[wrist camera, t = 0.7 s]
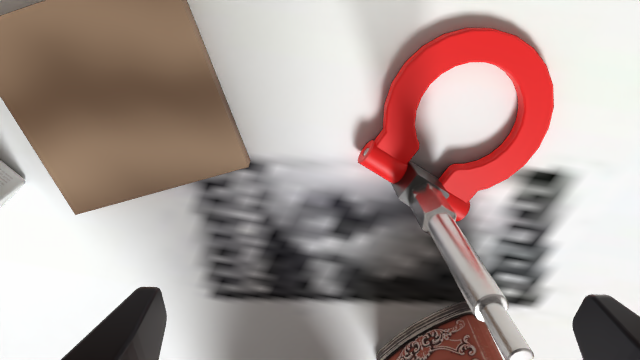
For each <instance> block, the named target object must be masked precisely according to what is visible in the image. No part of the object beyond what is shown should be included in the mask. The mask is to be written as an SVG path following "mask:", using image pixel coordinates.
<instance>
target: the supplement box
mask: <svg viewBox="0 0 640 360" xmlns="http://www.w3.org/2000/svg"><path fill="white" fill-rule="evenodd" d="M24 184H25V180H24V179H23V178H22V177H21V176H20V175H19V174H17V173H16V172H15V171H13V170H12V169H11V168H10V167H8V166H7V165H6V164H5V163H3V162H2V161H1V160H0V209H1V207H2V206H3V205H4V204H5V203H6V202H7V201H8V200H9V199H10V198H11V197H12V196H13V195H14V194H15V193H16V192H17V191H18V190H19V189H20V188H21V187H22V186H23V185H24Z"/></svg>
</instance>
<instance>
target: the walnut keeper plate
mask: <svg viewBox="0 0 640 360" xmlns="http://www.w3.org/2000/svg"><path fill="white" fill-rule="evenodd" d="M0 97H1V98H2V100H3V101H4V103H5V105H6V106H7V108H8V109H9V111H10V112H11V114H12V116H13V117H14V119H15V120H16V122H17V123H18V125H19V127H20V128H21V130H22V131H23V133H24V135H25V136H26V138H27V139H28V141H29V142H30V144H31V146H32V147H33V149H34V150H35V152H36V153H37V155H38V157H39V158H40V160H41V161H42V163H43V165H44V166H45V168H46V169H47V171H48V172H49V174H50V176H51V177H52V179H53V180H54V182H55V183H56V185H57V187H58V188H59V190H60V191H61V193H62V195H63V196H64V198H65V199H66V201H67V202H68V204H69V206H70V207H71V209H72V210H73V212H74V213H75V215H77V214H80V213H84V212H88V211H91V210H95V209H98V208H102V207H106V206H109V205H113V204H116V203H120V202H124V201H127V200H131V199H134V198H138V197H142V196H145V195H149V194H152V193H156V192H160V191H163V190H167V189H171V188H174V187H178V186H181V185H185V184H189V183H192V182H196V181H199V180H203V179H207V178H210V177H214V176H217V175H221V174H225V173H228V172H232V171H235V170H239V169H243V168H246V167H249V163H250V158H249V156H248V153H247V151H246V148H245V146H244V143H243V141H242V138H241V136H240V133H239V131H238V128H237V126H236V123H235V121H234V118H233V116H232V113H231V111H230V108H229V106H228V103H227V101H226V98H225V96H224V93H223V91H222V88H221V86H220V83H219V81H218V78H217V76H216V73H215V70H214V68H213V65H212V63H211V60H210V58H209V55H208V53H207V50H206V48H205V45H204V43H203V40H202V38H201V35H200V33H199V30H198V28H197V25H196V23H195V20H194V18H193V15H192V13H191V10H190V8H189V5H188V3H187V0H45V1H42V2H39V3H36V4H33V5H30V6H27V7H24V8H21V9H18V10H15V11H12V12H9V13H7V14H4V15H1V16H0Z"/></svg>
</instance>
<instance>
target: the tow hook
mask: <svg viewBox="0 0 640 360" xmlns="http://www.w3.org/2000/svg"><path fill="white" fill-rule="evenodd" d="M469 62H486V63H490V64H493V65H496V66H497V67H499V68H500V69H502V70H503V71H505V72H506V74H507V75H508V76H509V78H510V79H511V80H512V81H513V84H514V86H515V89H516V92H517V96H518V111H517V116H516V121H515V123H514V125H513V127H512V130H511V132H510V134H509V135H508V136H507V138H506V139H505V140H504V141H503V143H502V144H501V145H500V146H499V147H498V148H496V149H495V150H494V151H493V152H492V153H490V154H489V155H487V156H485V157H483V158H481V159H479V160H477V161H473V162H469V163H465V164H452V165H450V166H449V167H448V168H447V169H446V171H445V172H444V173H443V174H442V175H441V177H440V178H439V179H438V178H437V177H435V176H434V175H432V174H430V173H429V172H427V171H426V170H424V169H422V168H421V167H419V166H418V165H416V164H415V163H413V162H411V161H410V160H411V159H412V157H413V156H414V155H415V153H416V152H417V151H418V150H419V144H420V143H419V141H418V139H417V135H416V129H415V118H416V110H417V108H418V105H419V102H420V100H421V97H422V96H423V94H424V93H425V91H426V90H427V88H428V87H429V85H430V84H431V83H432V82H433V81H434V80H435V79H437V78H438V77H439V76H440V75H441V74H442V73H444V72H446V71H448V70H449V69H451V68H453V67H455V66H458V65H462V64H465V63H469ZM553 108H554V99H553V84H552V81H551V78H550V75H549V72H548V69H547V66H546V64H545V63H544V61H543V60H542V59H541V57H540V56H539V55H538V53H537V52H536V50H535V49H534V48H533V47H531V46H530V45H529V44H527V43H526V42H524V41H523V40H521V39H520V38H519V37H517V36H515V35H512V34H509V33H505V32H502V31H499V30H496V29H492V28H464V29H460V30H457V31H453V32H449V33H446V34H443V35H441V36H439V37H437V38H436V39H434V40H432V41H430V42H429V43H427V44H425V45H423V46H422V47H421V48H420V49H419V50H418V51H417V52H416V53H414V54H413V55H412V56H411V57H410V58H409V59H408V60H407V61H406V62H405V63H404V64H403V66H402V68H401V69H400V71H399V72H398V74H397V75H396V77H395V78H394V80H393V82H392V83H391V86H390V89H389V92H388V95H387V98H386V101H385V104H384V117H383V129H382V131H381V132H380V133H379V135H378V136H377V137H376V139H375V140H371V141H369V142H368V143H367V144H366V145H365V146H364V148H363V149H362V151H361V153H360V155H359V158H358V163H360V164H361V165H363V166H365V167H366V168H368V169H370V170H371V171H373V172H374V173H376V174H378V175H379V176H381V177H383V178H384V179H386V180H388V181H389V182H391V183H392V186H393V188H394V190H395V192H396V194H397V196H398V198H399V200H400V201H402V202H404V203H405V204H407V205H409V206H410V207H411V209H412V210H413V213H414V215H415V217H416V219H417V221H418V223H419V225H420V227H421V229H422V230H423V231H425V232H426V233H428V234H430V235H431V236H432V238H433V240H434V242H435V244H436V245H437V247H438V249H439V251H440V253H441V255H442V257H443V259H444V261H445V262H446V264H447V266H448V268H449V270H450V272H451V274H452V276H453V277H454V279H455V281H456V283H457V285H458V287H459V289H460V291H461V293H462V294H463V296H464V298H465V300H466V302H467V304H468V306H469V308H470V310H471V311H472V313H473V315H474V317H475V318H476V319H477V320H479V321H482V322H485V324H486V326H487V327H488V329H489V331H490V333H491V335H492V336H493V338H494V340H495V342H496V344H497V345H498V347H499V349H500V351H501V353H502V354H503V356H504V358H505V360H533V357H534V354H533V352H532V350H531V349H530V347H529V346H528V344H527V343H526V341H525V339H524V338H523V336H522V335H521V333H520V332H519V330H518V328H517V327H516V325H515V324H514V322H513V321H512V319H511V317H510V316H509V314H508V313H507V310H508V301H507V299H506V298H505V296H504V295H503V293H502V292H501V290H500V289H499V287H498V286H497V284H496V283H495V281H494V280H493V278H492V277H491V275H490V274H489V272H488V271H487V269H486V267H485V266H484V264H483V263H482V261H481V260H480V258H479V257H478V255H477V254H476V252H475V251H474V249H473V248H472V246H471V245H470V243H469V242H468V240H467V239H466V237H465V236H464V234H463V233H462V231H461V230H460V228H459V227H458V225H457V224H456V221H460V220H461V219H463V218H464V217H465V216H466V214H467V213H468V211H469V208H470V202H469V200H470V199H471V198H472V197H473V196H474V195H475V194H476V192H477V191H479V190H483V189H487V188H490V187H492V186H494V185H496V184H498V183H500V182H502V181H504V180H506V179H508V178H509V177H510V176H511V175H513V174H514V173H515V172H516V171H518V170H519V169H520V168H521V167H523V166H524V165H525V164H526V163H527V161H528V160H529V159H530V158H531V157H532V155H533V154H534V153H535V152H536V151H537V149H538V148H539V146H540V144H541V142H542V140H543V138H544V136H545V134H546V132H547V130H548V128H549V125H550V121H551V116H552V112H553Z"/></svg>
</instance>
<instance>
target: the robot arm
mask: <svg viewBox="0 0 640 360" xmlns="http://www.w3.org/2000/svg"><path fill="white" fill-rule="evenodd" d="M166 320H167V314H166V309H165V305H164V301H163V297H162V293H161V290H160V289H159V288H157V287H140V288H138V289H136V290H135V291H134V292H133V293H132V294H131V295H130V296H129V297H128V298H126V299H125V300H124V301H123V302H122V303H121V304H120V305H119V306H118V307H117V308H116V309H115V310H114V311H113V312H111V313H110V314H109V315H108V316H107V317H106V318H105V319H104V320H103V321H102V322H101V323H100V324H99V325H98V326H96V327H95V328H94V329H93V330H92V331H91V332H90V333H89V334H88V335H87V336H86V337H85V338H84V339H83V340H81V341H80V342H79V343H78V344H77V345H76V346H75V347H74V348H73V349H72V350H71V351H70V352H69V353H68V354H66V355H65V356H64V357H63V358H62V359H61V360H159V355H160V350H161V346H162V341H163V336H164V332H165V327H166ZM573 331H574V334H575V337H576V340H577V343H578V346H579V349H580V352H581V355H582V358H583V360H640V317H639V316H638V315H637V314H635V313H634V312H632V311H631V310H629V309H628V308H627V307H625V306H624V305H622V304H621V303H620V302H618V301H617V300H615V299H614V298H612V297H611V296H608V295H588V296H586V297H585V298H584V300H583V302H582V304H581V306H580V307H579V309H578V311H577V313H576V315H575V317H574V319H573Z"/></svg>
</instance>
